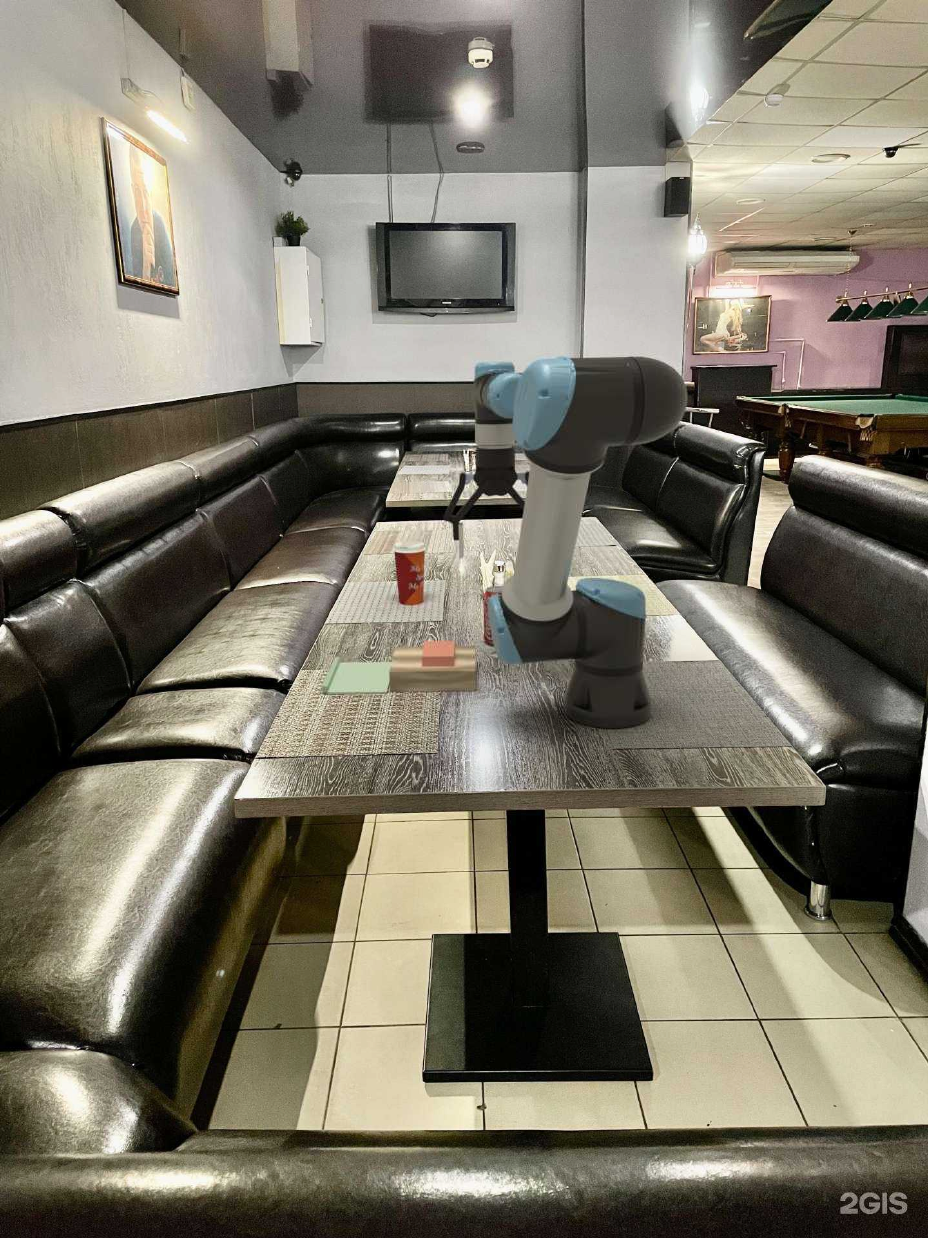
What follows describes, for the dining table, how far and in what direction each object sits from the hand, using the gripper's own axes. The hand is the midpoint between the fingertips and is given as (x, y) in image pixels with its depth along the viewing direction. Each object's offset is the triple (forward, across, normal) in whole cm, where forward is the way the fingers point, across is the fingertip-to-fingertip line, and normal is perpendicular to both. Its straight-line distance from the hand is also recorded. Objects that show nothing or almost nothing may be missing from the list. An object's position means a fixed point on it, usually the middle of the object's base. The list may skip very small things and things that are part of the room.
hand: (496, 556), depth 171 cm
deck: (+22, +12, +8) cm, 27 cm away
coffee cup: (+21, +22, -44) cm, 54 cm away
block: (+18, +11, +8) cm, 23 cm away
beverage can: (+22, 0, -13) cm, 25 cm away
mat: (+22, +27, +9) cm, 36 cm away
